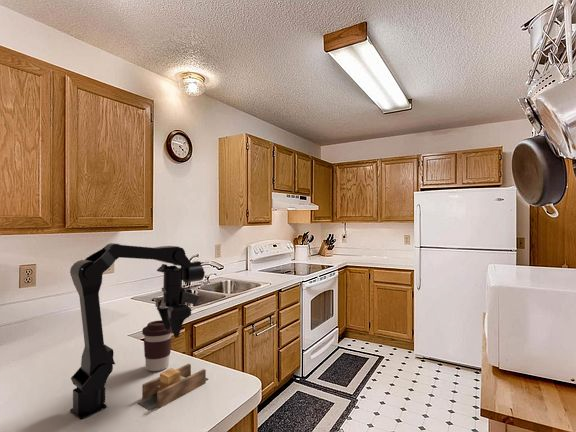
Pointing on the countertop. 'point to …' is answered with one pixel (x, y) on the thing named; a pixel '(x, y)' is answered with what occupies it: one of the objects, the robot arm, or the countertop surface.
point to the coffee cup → (157, 345)
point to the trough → (171, 388)
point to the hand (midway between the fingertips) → (172, 333)
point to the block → (169, 377)
